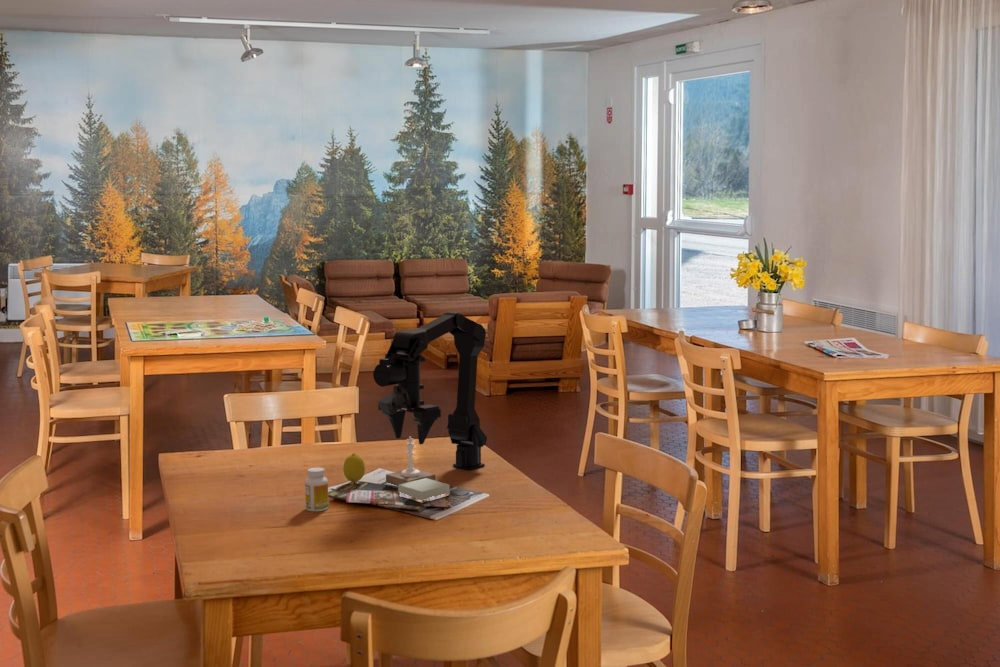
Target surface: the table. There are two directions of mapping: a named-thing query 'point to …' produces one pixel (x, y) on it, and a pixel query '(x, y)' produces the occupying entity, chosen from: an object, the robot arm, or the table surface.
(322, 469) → the supplement bottle
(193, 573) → the table surface
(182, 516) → the table surface
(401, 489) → the sage slab
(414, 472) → the chess piece
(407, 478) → the walnut slab
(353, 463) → the lemon
